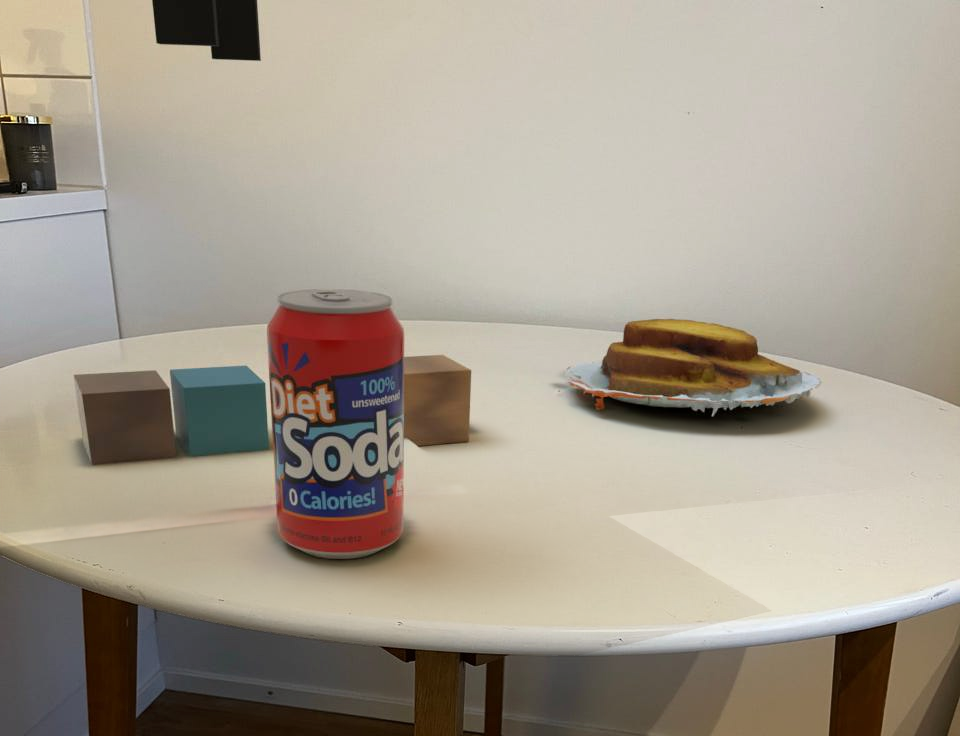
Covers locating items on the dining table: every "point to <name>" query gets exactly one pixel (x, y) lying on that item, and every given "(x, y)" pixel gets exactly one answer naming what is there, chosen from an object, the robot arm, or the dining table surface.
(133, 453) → the walnut block
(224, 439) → the teal block
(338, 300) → the soda can
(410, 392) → the oak block
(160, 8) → the robot arm
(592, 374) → the food on plate
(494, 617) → the dining table surface
